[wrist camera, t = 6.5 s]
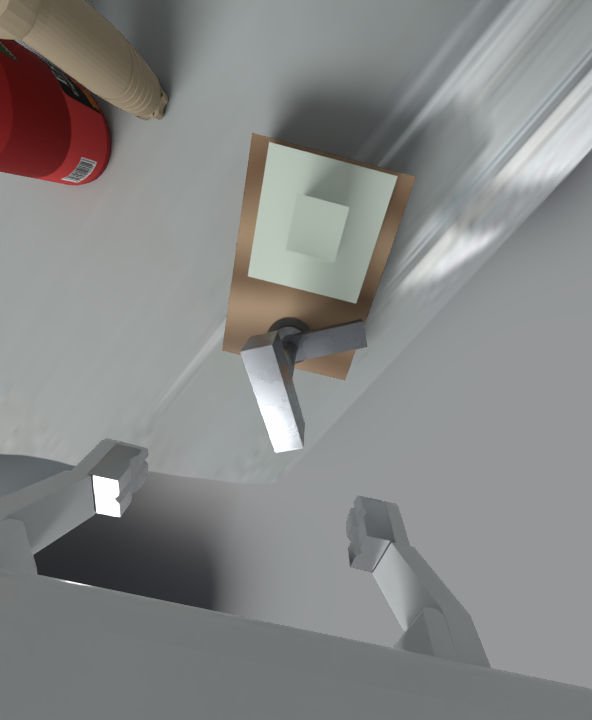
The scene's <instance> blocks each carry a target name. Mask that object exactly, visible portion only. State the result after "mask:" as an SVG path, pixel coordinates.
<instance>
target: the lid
mask: <svg viewBox="0 0 592 720" xmlns="http://www.w3.org/2000/svg"><path fill="white" fill-rule="evenodd" d="M397 177H398V176H394V175H391V174H387V173H383V172H379V171H376V170H372V169H368V168H365V167H361V166H357V165H353V164H350V163H346V162H342V161H338V160H335V159H331V158H327V157H323V156H320V155H316V154H312V153H309V152H305V151H301V150H297V149H294V148H290V147H286V146H282V145H279V144H275V143H271V142H269V146H268V153H267V159H266V165H265V171H264V178H263V184H262V190H261V196H260V202H259V209H258V215H257V221H256V227H255V234H254V240H253V246H252V252H251V259H250V265H249V271H248V276H249V277H253V278H257V279H261V280H265V281H269V282H273V283H277V284H281V285H285V286H288V287H292V288H296V289H300V290H304V291H308V292H312V293H316V294H320V295H324V296H328V297H332V298H336V299H340V300H344V301H348V302H352V303H357V299H358V296H359V293H360V290H361V287H362V284H363V281H364V278H365V275H366V272H367V269H368V266H369V263H370V260H371V256H372V253H373V250H374V247H375V244H376V241H377V238H378V235H379V232H380V229H381V226H382V223H383V220H384V217H385V213H386V210H387V207H388V204H389V201H390V198H391V195H392V192H393V189H394V186H395V183H396V180H397Z"/></svg>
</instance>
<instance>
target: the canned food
mask: <svg viewBox="0 0 592 720" xmlns="http://www.w3.org/2000/svg"><path fill="white" fill-rule="evenodd" d="M109 156H110V135H109V130H108V126H107V123H106V120H105V118H104V115H103V113H102V111H101V109H100V108H99V106H98V105H97V103H96V102H95V100H94V99H93V98H92V97H91V95H90V94H89V93H88V92H87V91H86V90H85V88H84V87H83V86H82V85H80V84H79V83H78V82H77V81H76V80H74V79H73V78H71V77H70V76H68V75H67V74H65V73H64V72H62V71H61V70H59V69H57V68H56V67H54V66H53V65H51V64H50V63H48V62H47V61H45V60H44V59H42V58H40V57H39V56H37V55H36V54H34V53H33V52H31V51H30V50H28V49H27V48H25V47H23V46H22V45H20V44H19V43H17V42H16V41H14V40H9V39H0V172H5V173H10V174H15V175H21V176H26V177H31V178H36V179H41V180H46V181H52V182H57V183H62V184H67V185H81V184H86V183H89V182H91V181H93V180H95V179H97V178H98V177H99V176H100V175H101V174H102V173H103V171H104V170H105V168H106V166H107V163H108V161H109Z"/></svg>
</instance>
